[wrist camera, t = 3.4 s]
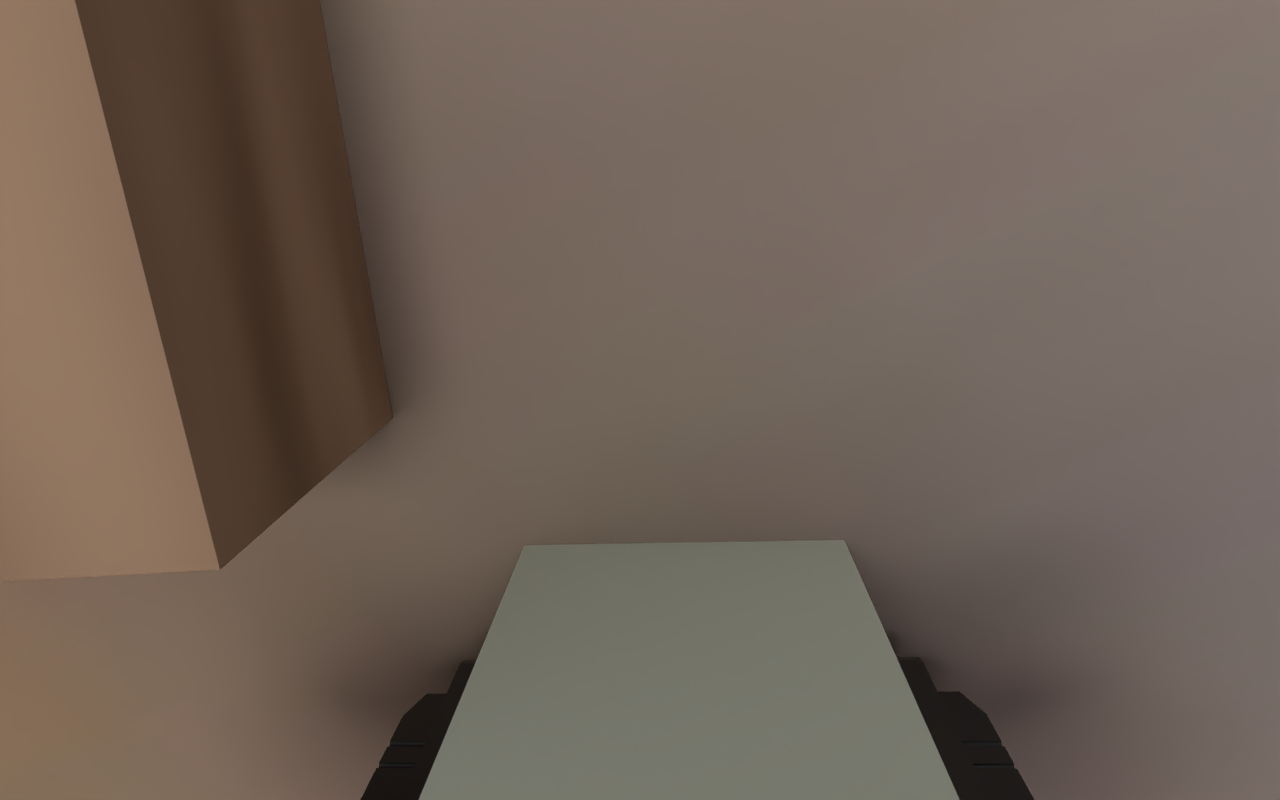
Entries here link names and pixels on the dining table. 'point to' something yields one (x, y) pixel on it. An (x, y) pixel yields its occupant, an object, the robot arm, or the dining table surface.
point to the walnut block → (172, 282)
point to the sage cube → (687, 682)
